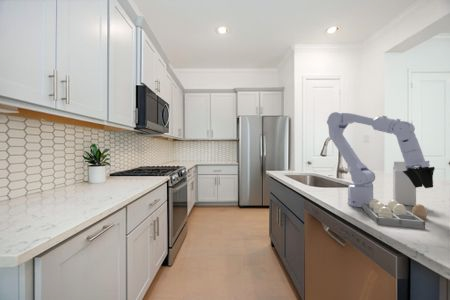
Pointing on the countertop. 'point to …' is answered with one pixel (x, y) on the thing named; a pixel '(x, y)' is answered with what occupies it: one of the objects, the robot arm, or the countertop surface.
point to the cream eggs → (387, 208)
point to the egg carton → (395, 218)
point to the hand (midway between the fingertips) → (423, 187)
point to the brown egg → (419, 211)
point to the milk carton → (403, 186)
